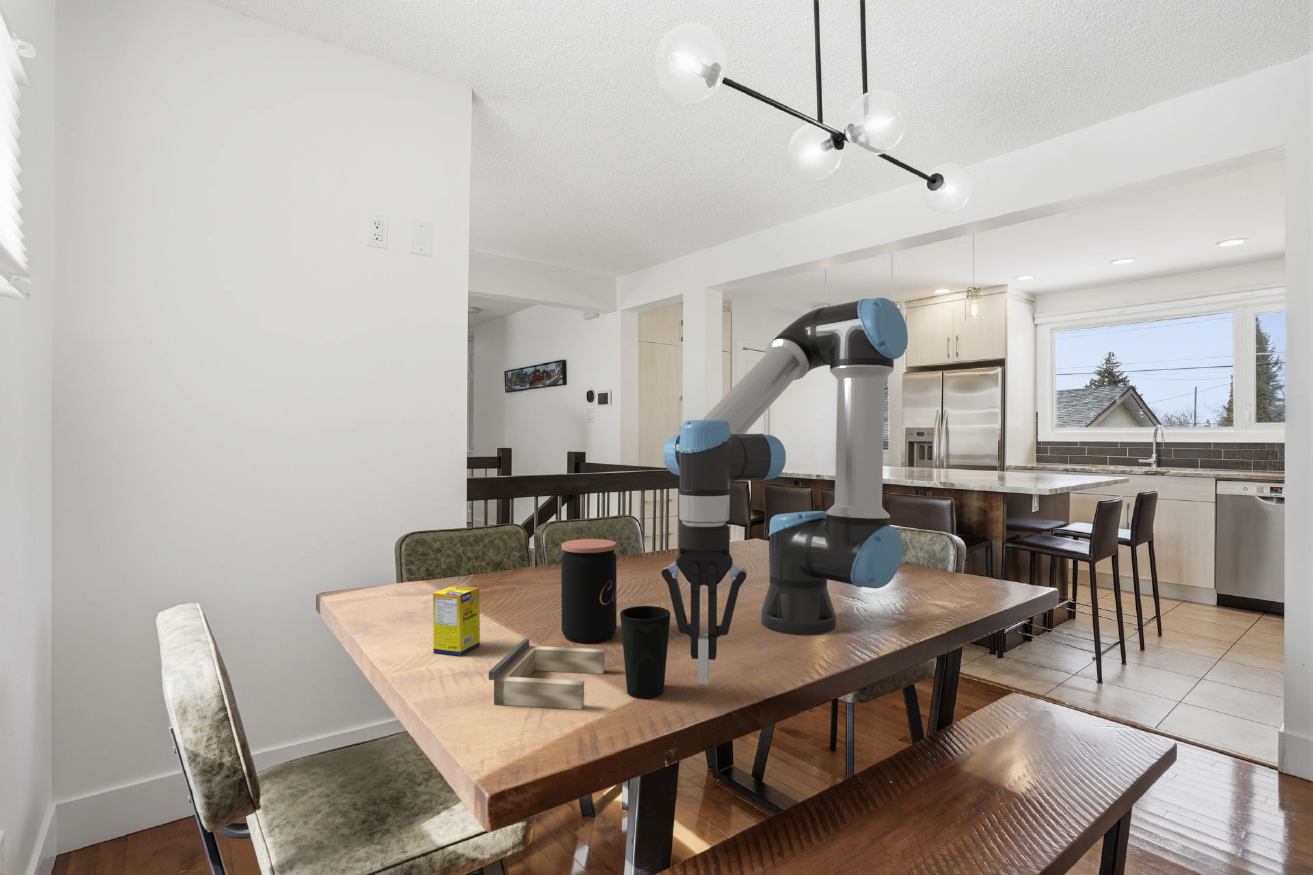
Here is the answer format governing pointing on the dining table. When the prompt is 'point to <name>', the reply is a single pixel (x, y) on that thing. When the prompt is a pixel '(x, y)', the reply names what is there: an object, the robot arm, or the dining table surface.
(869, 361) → the robot arm
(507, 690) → the bay
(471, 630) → the supplement box
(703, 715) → the dining table surface
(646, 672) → the cup
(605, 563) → the coffee jar
